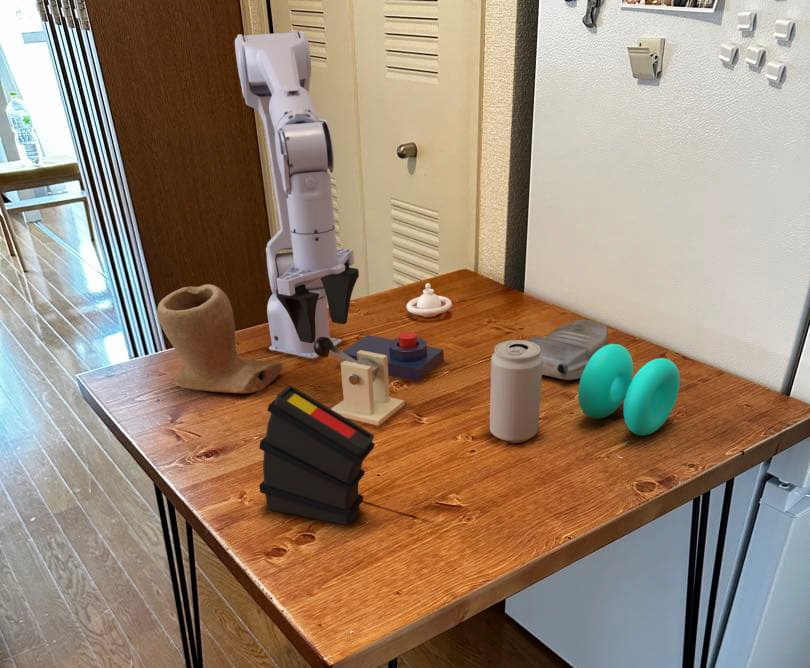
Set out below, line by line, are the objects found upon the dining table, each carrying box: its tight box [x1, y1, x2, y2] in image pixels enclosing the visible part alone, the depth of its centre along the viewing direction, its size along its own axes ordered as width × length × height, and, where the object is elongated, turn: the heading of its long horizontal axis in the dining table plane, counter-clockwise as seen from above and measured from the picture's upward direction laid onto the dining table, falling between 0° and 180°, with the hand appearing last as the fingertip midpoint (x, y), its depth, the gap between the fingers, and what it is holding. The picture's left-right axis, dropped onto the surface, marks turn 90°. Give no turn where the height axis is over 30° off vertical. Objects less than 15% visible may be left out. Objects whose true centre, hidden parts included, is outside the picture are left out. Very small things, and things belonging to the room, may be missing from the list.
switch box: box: [330, 350, 405, 427], centre depth 111 cm, size 8×7×8 cm
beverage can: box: [489, 339, 543, 444], centre depth 103 cm, size 6×6×12 cm
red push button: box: [397, 331, 418, 348], centre depth 122 cm, size 3×3×2 cm
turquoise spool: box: [577, 343, 681, 436], centre depth 104 cm, size 10×10×10 cm
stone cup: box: [156, 283, 284, 394], centre depth 117 cm, size 15×12×15 cm
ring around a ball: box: [406, 282, 453, 318], centre depth 140 cm, size 8×6×8 cm
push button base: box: [341, 334, 445, 382], centre depth 124 cm, size 14×8×4 cm, turn 60°
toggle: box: [314, 337, 379, 382], centre depth 110 cm, size 10×3×3 cm, turn 59°
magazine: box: [258, 385, 376, 526], centre depth 90 cm, size 4×13×15 cm, turn 68°
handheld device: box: [527, 319, 609, 381], centre depth 123 cm, size 10×20×5 cm, turn 146°
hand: (323, 331), depth 110 cm, fingers open, 7 cm apart
